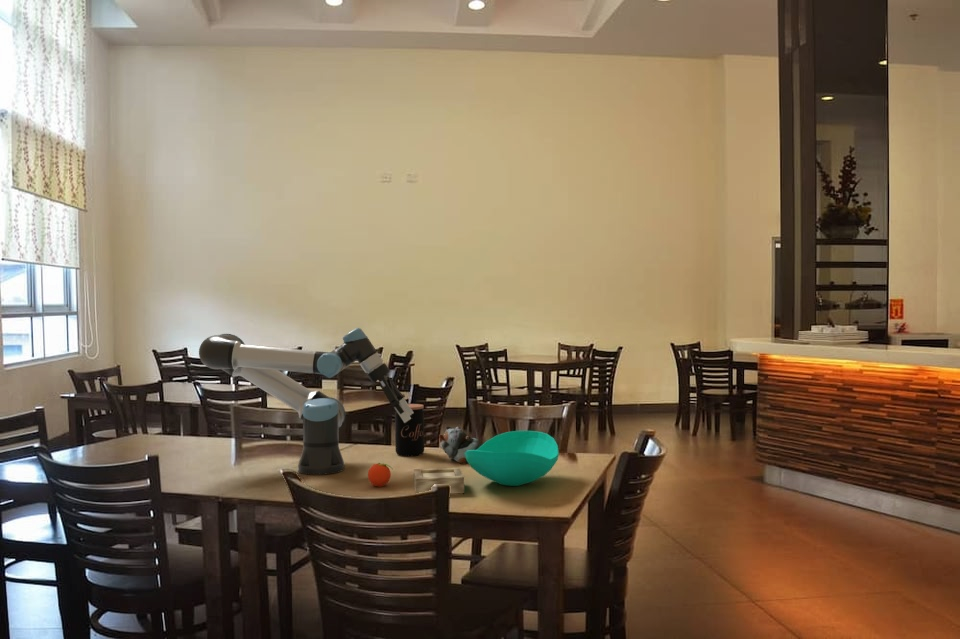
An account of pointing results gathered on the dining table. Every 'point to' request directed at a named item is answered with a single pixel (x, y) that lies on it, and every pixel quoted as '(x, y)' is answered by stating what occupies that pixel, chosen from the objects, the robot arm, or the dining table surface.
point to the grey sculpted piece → (457, 444)
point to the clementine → (379, 474)
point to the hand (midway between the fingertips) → (409, 417)
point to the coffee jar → (410, 432)
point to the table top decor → (515, 457)
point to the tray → (438, 479)
